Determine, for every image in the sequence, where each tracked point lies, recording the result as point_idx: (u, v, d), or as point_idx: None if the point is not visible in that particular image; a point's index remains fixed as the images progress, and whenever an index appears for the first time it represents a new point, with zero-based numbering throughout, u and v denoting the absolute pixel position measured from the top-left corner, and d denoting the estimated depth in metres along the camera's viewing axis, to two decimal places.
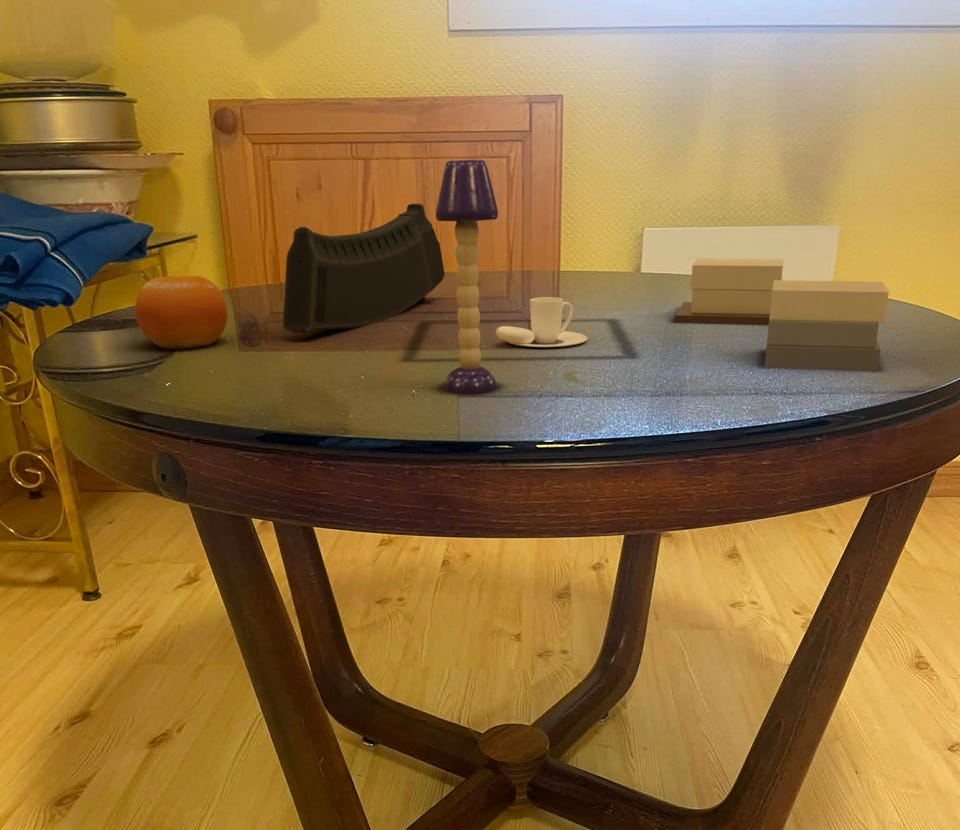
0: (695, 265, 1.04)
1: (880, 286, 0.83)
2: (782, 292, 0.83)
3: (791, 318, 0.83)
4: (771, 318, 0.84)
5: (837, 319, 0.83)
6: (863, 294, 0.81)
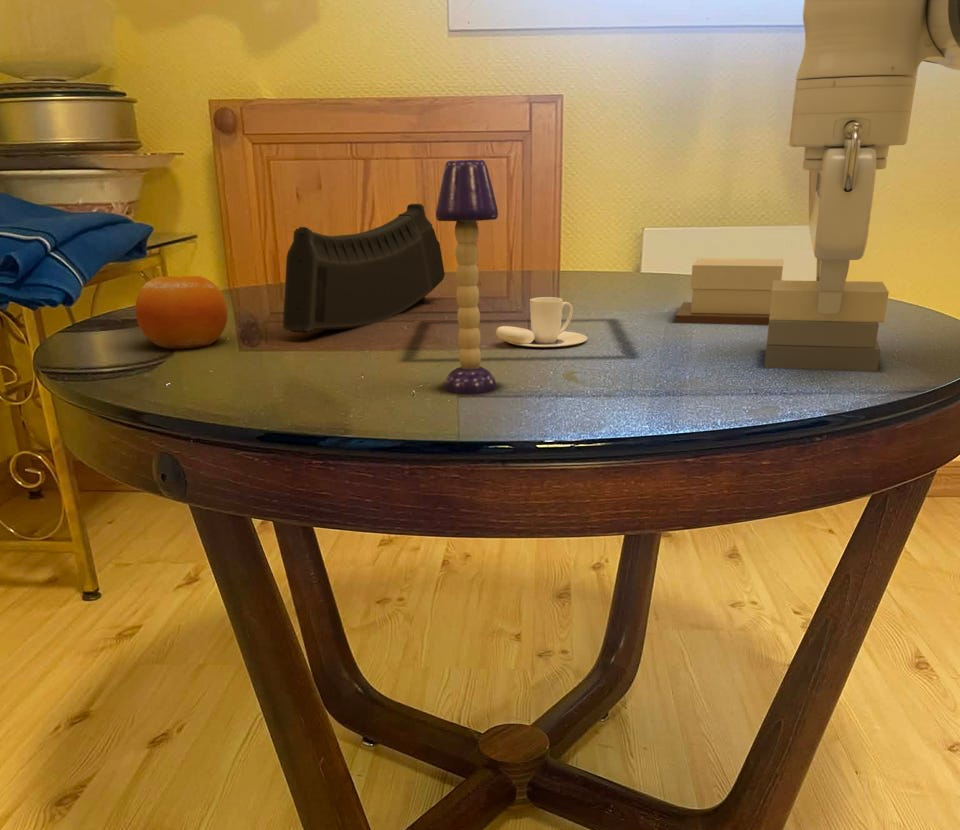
0: (695, 265, 1.04)
1: (880, 286, 0.83)
2: (782, 292, 0.83)
3: (791, 318, 0.83)
4: (771, 318, 0.84)
5: (837, 319, 0.83)
6: (863, 294, 0.81)
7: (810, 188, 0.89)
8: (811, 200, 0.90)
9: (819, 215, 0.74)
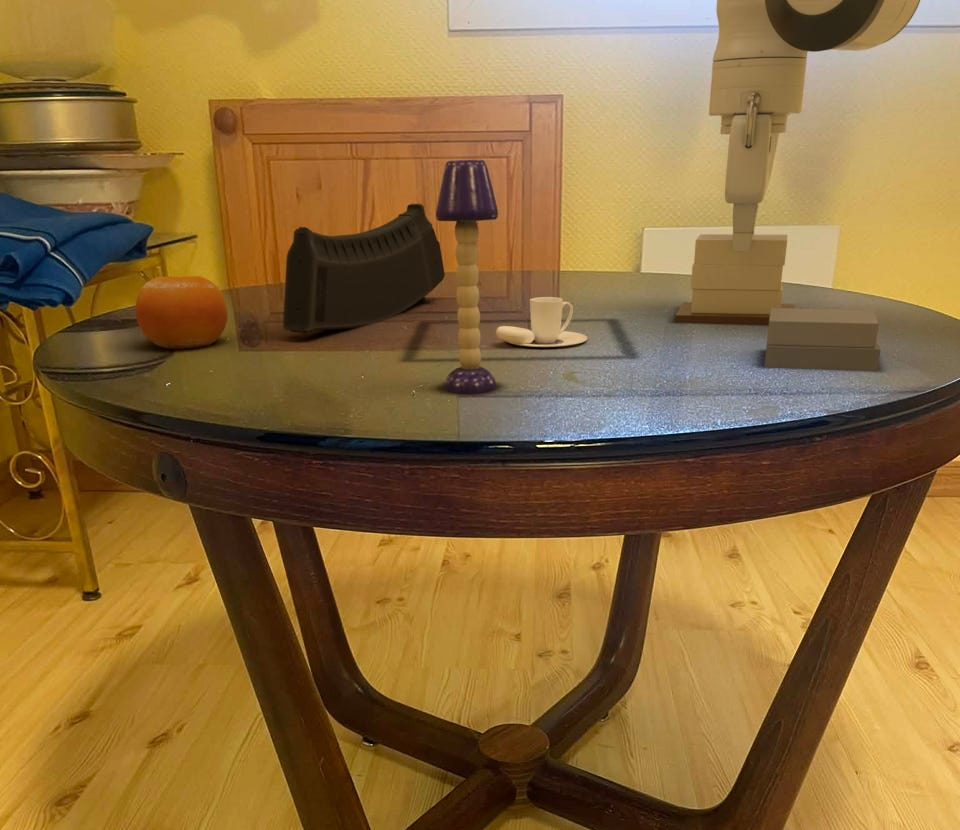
0: (695, 265, 1.04)
1: (783, 237, 1.03)
2: (703, 241, 1.03)
3: (711, 263, 1.03)
4: (695, 263, 1.04)
5: (747, 263, 1.03)
6: (767, 242, 1.01)
7: None
8: None
9: (727, 167, 0.93)
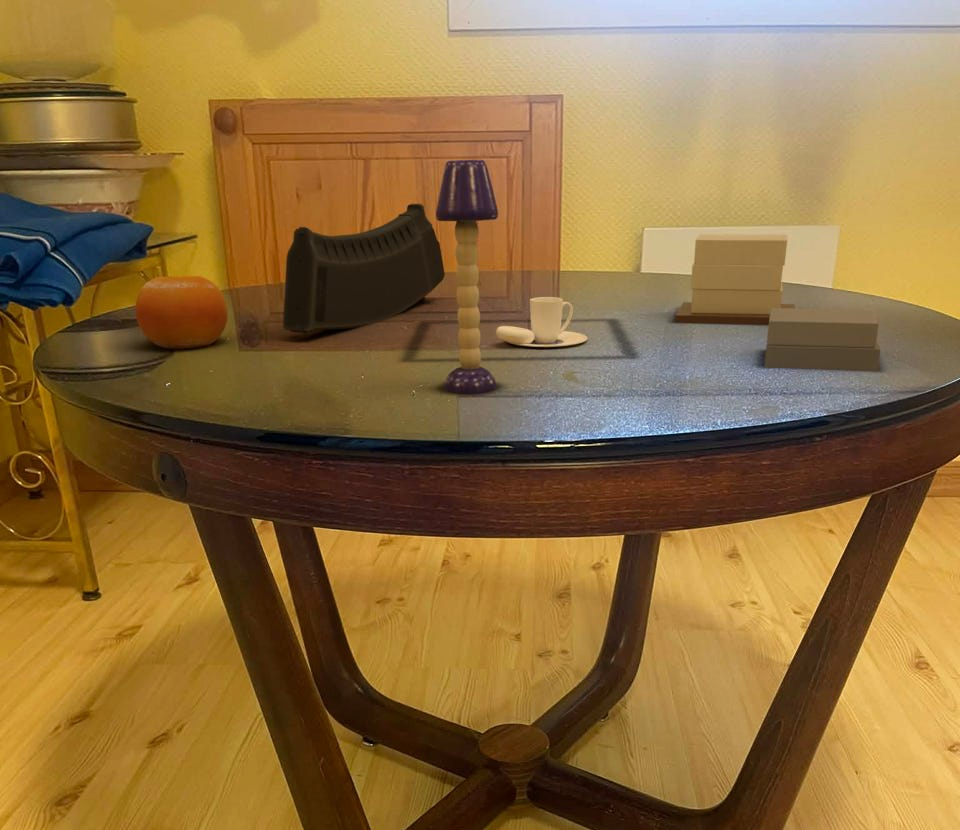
0: (695, 265, 1.04)
1: (783, 237, 1.03)
2: (703, 241, 1.03)
3: (711, 263, 1.03)
4: (695, 263, 1.04)
5: (747, 263, 1.03)
6: (767, 242, 1.01)
7: None
8: None
9: None
